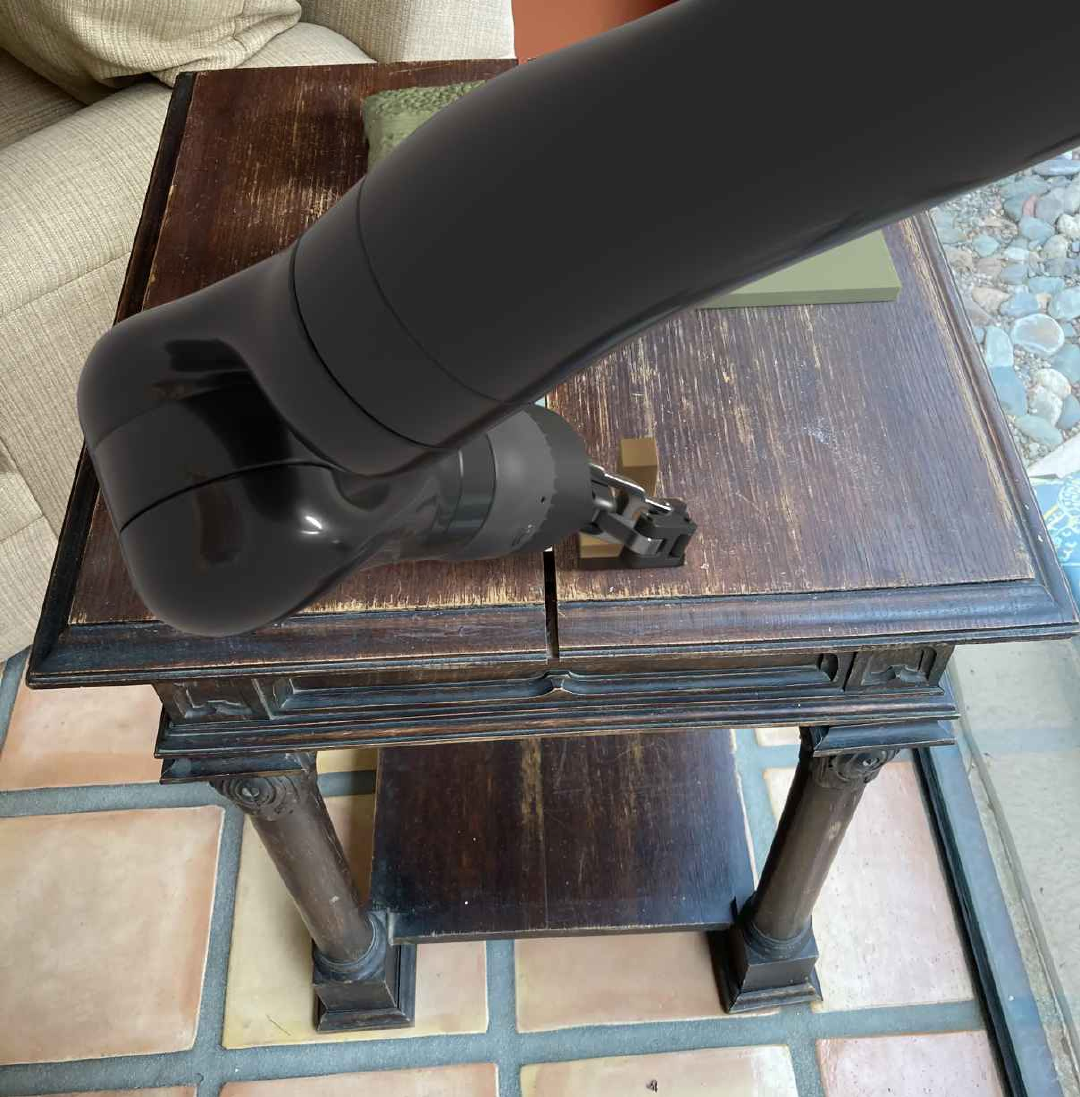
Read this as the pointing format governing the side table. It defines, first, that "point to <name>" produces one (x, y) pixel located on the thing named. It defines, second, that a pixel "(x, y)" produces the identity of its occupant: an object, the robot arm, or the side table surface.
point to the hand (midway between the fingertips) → (616, 481)
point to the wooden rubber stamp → (632, 463)
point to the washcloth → (404, 114)
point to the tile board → (825, 279)
